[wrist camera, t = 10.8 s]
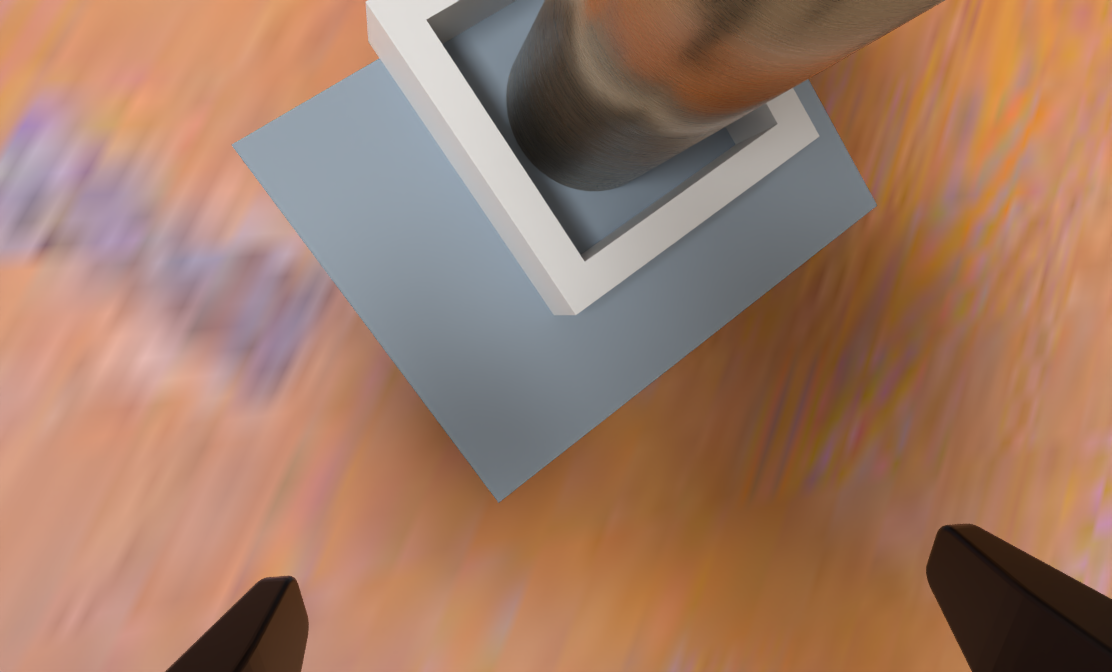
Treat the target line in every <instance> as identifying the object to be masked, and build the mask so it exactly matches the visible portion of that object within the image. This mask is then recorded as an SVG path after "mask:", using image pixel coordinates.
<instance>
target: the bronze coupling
mask: <svg viewBox="0 0 1112 672" xmlns="http://www.w3.org/2000/svg"><path fill="white" fill-rule="evenodd" d="M943 1H945V0H545V1H544V3H543V5H542V7H541V9H540V11H539V13H538V15H537V17H536V19H535V21H534V23H533V25H532V27H531V29H530V31H529V33H528V35H527V37H526V39H525V41H524V43H523V45H522V47H521V49H520V51H519V53H518V55H517V57H516V59H515V61H514V63H513V65H512V68H511V71H510V74H509V77H508V83H507V90H506V106H507V114H508V119H509V123H510V126H511V129H512V132H513V135H514V137H515V139H516V141H517V143H518V145H519V146H520V148H521V150H522V151H523V153H524V154H525V156H526V157H527V158H528V159H529V160H530V162H531V163H532V164H533V165H534V166H535V167H536V168H537V169H538V170H539V171H541V172H542V173H543V174H545V175H546V176H547V177H549V178H550V179H552V180H554V181H556V182H557V183H559V184H562V185H564V186H567V187H569V188H573V189H577V190H583V191H604V190H610V189H614V188H617V187H620V186H622V185H624V184H626V183H628V182H630V181H632V180H634V179H635V178H637V177H639V176H641V175H642V174H644V173H646V172H648V171H649V170H651V169H653V168H655V167H656V166H658V165H660V164H662V163H663V162H665V161H667V160H668V159H670V158H672V157H674V156H675V155H677V154H679V153H681V152H682V151H684V150H686V149H688V148H689V147H691V146H693V145H695V144H696V143H698V142H700V141H701V140H703V139H705V138H707V137H708V136H710V135H712V134H714V133H715V132H717V131H719V130H721V129H722V128H724V127H726V126H728V125H729V124H731V123H733V122H734V121H736V120H738V119H740V118H741V117H743V116H745V115H747V114H748V113H750V112H752V111H754V110H755V109H757V108H759V107H761V106H762V105H764V104H766V103H767V102H769V101H771V100H773V99H774V98H776V97H778V96H780V95H781V94H783V93H785V92H787V91H788V90H790V89H792V88H794V87H795V86H797V85H799V84H800V83H802V82H804V81H806V80H807V79H809V78H811V77H813V76H814V75H816V74H818V73H820V72H821V71H823V70H825V69H827V68H828V67H830V66H832V65H833V64H835V63H837V62H839V61H840V60H842V59H844V58H846V57H847V56H849V55H851V54H853V53H854V52H856V51H858V50H860V49H861V48H863V47H865V46H867V45H868V44H870V43H872V42H873V41H875V40H877V39H879V38H880V37H882V36H884V35H886V34H887V33H889V32H891V31H893V30H894V29H896V28H898V27H900V26H901V25H903V24H905V23H906V22H908V21H910V20H912V19H913V18H915V17H917V16H919V15H920V14H922V13H924V12H926V11H927V10H929V9H931V8H933V7H934V6H936V5H938V4H939V3H941V2H943Z"/></svg>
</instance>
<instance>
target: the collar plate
mask: <svg viewBox="0 0 1112 672" xmlns="http://www.w3.org/2000/svg"><path fill="white" fill-rule="evenodd" d="M544 1H545V0H368V1H366V14H367V29H368V42H369V43H370V45H371V46H372V48H373V49H374V51H375V52H376V54H377V55H378V57H379V59H377V60H376V61H374V62H372V63H371V64H369V65H367V66H366V67H364V68H362V69H360V70H359V71H357V72H355V73H354V74H352V75H350V76H348V77H347V78H345V79H343V80H342V81H340V82H338V83H336V84H335V85H333V86H331V87H330V88H328V89H326V90H324V91H323V92H321V93H319V94H318V95H316V96H314V97H312V98H311V99H309V100H307V101H306V102H304V103H302V104H301V105H299V106H297V107H295V108H294V109H292V110H290V111H289V112H287V113H285V114H283V115H282V116H280V117H278V118H277V119H275V120H273V121H271V122H270V123H268V124H266V125H265V126H263V127H261V128H259V129H258V130H256V131H254V132H253V133H251V134H249V135H247V136H246V137H244V138H242V139H241V140H239V141H237V142H235V143H234V144H232V146H233V148H234V149H235V150H236V152H237V153H238V154H239V156H240V157H241V158H242V160H243V161H244V162H245V164H246V165H247V166H248V168H249V169H250V170H251V172H252V173H253V175H254V176H255V177H256V179H257V180H258V181H259V183H260V184H261V185H262V187H263V188H264V189H265V191H266V192H267V193H268V195H269V196H270V197H271V199H272V200H273V201H274V203H275V204H276V205H277V207H278V208H279V209H280V211H281V212H282V213H283V215H284V216H285V217H286V219H287V220H288V221H289V223H290V224H291V225H292V227H293V228H294V229H295V231H296V232H297V233H298V235H299V236H300V237H301V239H302V240H303V241H304V243H305V244H306V245H307V247H308V248H309V250H310V251H311V252H312V254H313V255H314V256H315V258H316V259H317V260H318V262H319V263H320V264H321V266H322V267H323V268H324V270H325V271H326V272H327V274H328V275H329V276H330V278H331V279H332V280H333V282H334V283H335V284H336V286H337V287H338V288H339V290H340V291H341V292H342V294H343V295H344V296H345V298H346V299H347V300H348V302H349V303H350V304H351V306H352V307H353V308H354V310H355V311H356V312H357V314H358V315H359V316H360V318H361V319H362V320H363V322H364V323H365V325H366V326H367V327H368V329H369V330H370V331H371V333H372V334H373V335H374V337H375V338H376V339H377V341H378V342H379V343H380V345H381V346H382V347H383V349H384V350H385V351H386V353H387V354H388V355H389V357H390V358H391V359H392V361H393V362H394V363H395V365H396V366H397V367H398V369H399V370H400V371H401V373H402V374H403V375H404V377H405V378H406V379H407V381H408V382H409V383H410V385H411V386H412V387H413V389H414V390H415V391H416V393H417V394H418V395H419V397H420V398H421V400H422V401H423V402H424V404H425V405H426V406H427V408H428V409H429V410H430V412H431V413H432V414H433V416H434V417H435V418H436V420H437V421H438V422H439V424H440V425H441V426H442V428H443V429H444V430H445V432H446V433H447V434H448V436H449V437H450V438H451V440H452V441H453V442H454V444H455V445H456V446H457V448H458V449H459V450H460V452H461V453H462V454H463V456H464V457H465V458H466V460H467V461H468V462H469V464H470V465H471V466H472V468H473V469H474V470H475V472H476V473H477V475H478V476H479V477H480V479H481V480H482V481H483V483H484V484H485V485H486V487H487V488H488V489H489V491H490V492H491V493H492V495H493V496H494V497H495V499H496V500H497V501H498V503H499V502H500V501H502V500H503V499H504V498H505V497H507V496H508V495H509V494H510V493H512V492H513V491H514V490H516V489H517V488H518V487H519V486H521V485H522V484H523V483H524V482H526V481H527V480H528V479H530V478H531V477H532V476H533V475H535V474H536V473H537V472H538V471H540V470H541V469H542V468H544V467H545V466H546V465H547V464H549V463H550V462H551V461H552V460H554V459H555V458H556V457H558V456H559V455H560V454H561V453H563V452H564V451H565V450H567V449H568V448H569V447H570V446H572V445H573V444H574V443H575V442H577V441H578V440H579V439H581V438H582V437H583V436H584V435H586V434H587V433H588V432H589V431H591V430H592V429H593V428H595V427H596V426H597V425H598V424H600V423H601V422H602V421H603V420H605V419H606V418H607V417H609V416H610V415H611V414H612V413H614V412H615V411H616V410H617V409H619V408H620V407H621V406H623V405H624V404H625V403H626V402H628V401H629V400H630V399H631V398H633V397H634V396H635V395H637V394H638V393H639V392H640V391H642V390H643V389H644V388H645V387H647V386H648V385H649V384H651V383H652V382H653V381H654V380H656V379H657V378H658V377H659V376H661V375H662V374H663V373H665V372H666V371H667V370H668V369H670V368H671V367H672V366H673V365H675V364H676V363H677V362H679V361H680V360H681V359H682V358H684V357H685V356H686V355H687V354H689V353H690V352H691V351H693V350H694V349H695V348H696V347H698V346H699V345H700V344H701V343H703V342H704V341H705V340H707V339H708V338H709V337H710V336H712V335H713V334H714V333H715V332H717V331H718V330H719V329H721V328H722V327H723V326H724V325H726V324H727V323H728V322H729V321H731V320H732V319H733V318H735V317H736V316H737V315H738V314H740V313H741V312H742V311H743V310H745V309H746V308H747V307H749V306H750V305H751V304H752V303H754V302H755V301H756V300H757V299H759V298H760V297H761V296H763V295H764V294H765V293H766V292H768V291H769V290H770V289H771V288H773V287H774V286H775V285H777V284H778V283H779V282H780V281H782V280H783V279H784V278H786V277H787V276H788V275H789V274H791V273H792V272H793V271H794V270H796V269H797V268H798V267H800V266H801V265H802V264H803V263H805V262H806V261H807V260H808V259H810V258H811V257H812V256H814V255H815V254H816V253H817V252H819V251H820V250H821V249H822V248H824V247H825V246H826V245H828V244H829V243H830V242H831V241H833V240H834V239H835V238H836V237H838V236H839V235H840V234H842V233H843V232H844V231H845V230H847V229H848V228H849V227H850V226H852V225H853V224H854V223H856V222H857V221H858V220H859V219H861V218H862V217H863V216H864V215H866V214H867V213H868V212H870V211H871V210H872V209H873V208H875V207H876V206H877V204H876V202H875V200H874V199H873V197H872V195H871V193H870V191H869V189H868V188H867V186H866V184H865V182H864V180H863V178H862V177H861V175H860V173H859V171H858V169H857V167H856V166H855V164H854V162H853V160H852V158H851V156H850V155H849V153H848V151H847V149H846V147H845V145H844V144H843V142H842V140H841V138H840V136H839V134H838V133H837V131H836V129H835V127H834V125H833V123H832V122H831V120H830V118H829V116H828V114H827V112H826V111H825V109H824V107H823V105H822V103H821V101H820V100H819V98H818V96H817V94H816V92H815V90H814V89H813V87H812V85H811V83H810V81H809V79H807V80H806V81H804V82H802V83H800V84H799V85H797V86H795V87H794V88H792V89H790V90H788V91H787V92H785V93H783V94H781V95H780V96H778V97H776V98H774V99H773V100H771V101H769V102H767V103H766V104H764V105H762V106H761V107H759V108H757V109H755V110H754V111H752V112H750V113H748V114H747V115H745V116H743V117H741V118H740V119H738V120H736V121H734V122H733V123H731V124H729V125H728V126H726V127H724V128H722V129H721V130H719V131H717V132H715V133H714V134H712V135H710V136H708V137H707V138H705V139H703V140H701V141H700V142H698V143H696V144H695V145H693V146H691V147H689V148H688V149H686V150H684V151H682V152H681V153H679V154H677V155H675V156H674V157H672V158H670V159H668V160H667V161H665V162H663V163H662V164H660V165H658V166H656V167H655V168H653V169H651V170H649V171H648V172H646V173H644V174H642V175H641V176H639V177H637V178H635V179H634V180H632V181H630V182H628V183H626V184H624V185H622V186H620V187H617V188H614V189H610V190H604V191H583V190H577V189H573V188H569V187H567V186H564V185H562V184H559V183H557V182H556V181H554V180H552V179H550V178H549V177H547V176H546V175H545V174H543V173H542V172H541V171H539V170H538V169H537V168H536V167H535V166H534V165H533V164H532V163H531V162H530V160H529V159H528V158H527V157H526V156H525V154H524V153H523V151H522V150H521V148H520V146H519V145H518V143H517V141H516V139H515V137H514V135H513V132H512V129H511V126H510V123H509V119H508V114H507V106H506V90H507V83H508V77H509V74H510V71H511V68H512V65H513V63H514V61H515V59H516V57H517V55H518V53H519V51H520V49H521V47H522V45H523V43H524V41H525V39H526V37H527V35H528V33H529V31H530V29H531V27H532V25H533V23H534V21H535V19H536V17H537V15H538V13H539V11H540V9H541V7H542V5H543V3H544Z"/></svg>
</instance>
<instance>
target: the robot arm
mask: <svg viewBox="0 0 1112 672" xmlns="http://www.w3.org/2000/svg"><path fill="white" fill-rule="evenodd" d="M926 574H927V580H928V583H929V585H930V588H931V590H932V592H933V594H934V596H935V598H936V600H937V602H938V604H939V606H940V608H941V610H942V612H943V614H944V616H945V618H946V620H947V622H948V624H949V626H950V628H951V630H952V632H953V634H954V636H955V638H956V640H957V642H958V644H959V646H960V648H961V650H962V652H963V654H964V656H965V658H966V660H967V662H968V665H969V667H970V669H971V671H972V672H1112V599H1110V598H1108V597H1107V596H1105V595H1103V594H1101V593H1099V592H1097V591H1096V590H1094V589H1092V588H1090V587H1088V586H1086V585H1085V584H1083V583H1081V582H1079V581H1077V580H1075V579H1074V578H1072V577H1070V576H1068V575H1066V574H1064V573H1063V572H1061V571H1059V570H1057V569H1055V568H1053V567H1051V566H1050V565H1048V564H1046V563H1044V562H1042V561H1040V560H1039V559H1037V558H1035V557H1033V556H1031V555H1029V554H1028V553H1026V552H1024V551H1022V550H1020V549H1018V548H1017V547H1015V546H1013V545H1011V544H1009V543H1007V542H1006V541H1004V540H1002V539H1000V538H998V537H996V536H995V535H993V534H991V533H989V532H987V531H985V530H983V529H982V528H980V527H978V526H976V525H973V524H955V525H945V526H942V527H941V528H940V529H939V530H938V532H937V534H936V537H935V541H934V544H933V547H932V550H931V553H930V556H929V559H928V563H927V566H926ZM308 629H309V622H308V616H307V612H306V609H305V606H304V602H303V599H302V596H301V592H300V589H299V586H298V583H297V581H296V579H295V578H294V577H292V576H280V577H267V578H264V579H262V580H260V581H258V582H257V583H256V584H255V585H254V586H253V587H252V588H251V589H250V590H249V591H248V592H247V593H246V594H245V595H244V596H243V597H242V598H241V599H240V600H239V601H238V602H236V603H235V604H234V605H233V606H232V607H231V608H230V609H229V610H228V611H227V612H226V613H225V614H224V615H223V616H222V617H221V618H220V619H219V620H218V621H217V622H216V623H215V624H214V625H213V626H212V627H211V628H210V629H209V630H208V631H207V632H205V633H204V634H203V635H202V636H201V637H200V638H199V639H198V640H197V641H196V642H195V643H194V644H193V645H192V646H191V647H190V648H189V649H188V650H187V651H186V652H185V653H184V654H183V655H182V656H181V657H180V658H179V659H178V660H177V661H176V662H175V663H173V664H172V665H171V666H170V667H169V668H168V669H167V670H166V671H165V672H301V669H302V664H303V659H304V653H305V648H306V643H307V638H308Z"/></svg>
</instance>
